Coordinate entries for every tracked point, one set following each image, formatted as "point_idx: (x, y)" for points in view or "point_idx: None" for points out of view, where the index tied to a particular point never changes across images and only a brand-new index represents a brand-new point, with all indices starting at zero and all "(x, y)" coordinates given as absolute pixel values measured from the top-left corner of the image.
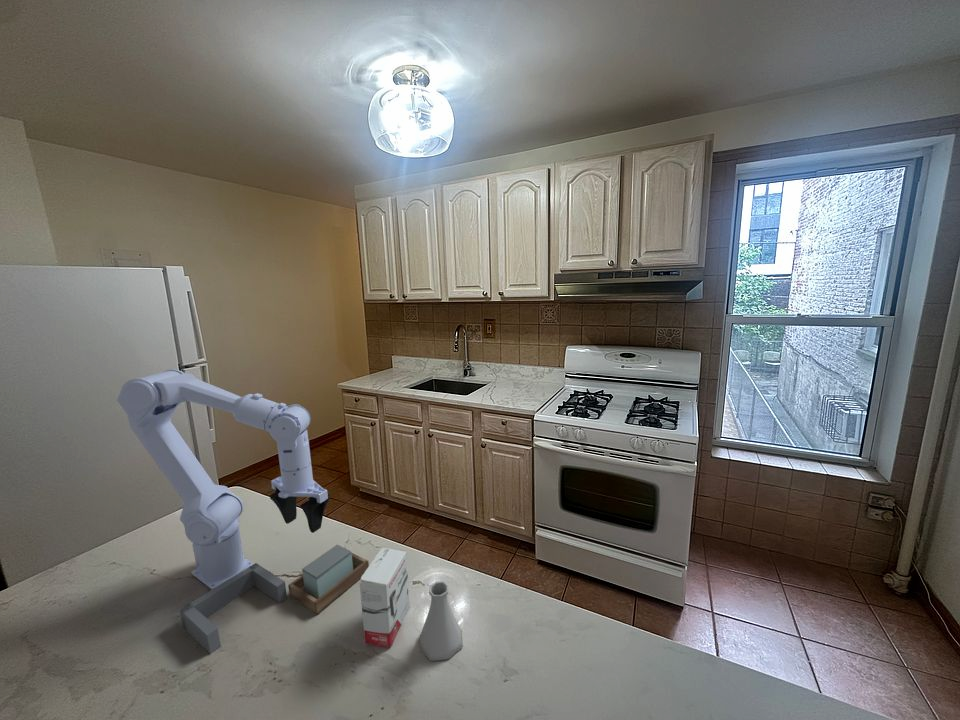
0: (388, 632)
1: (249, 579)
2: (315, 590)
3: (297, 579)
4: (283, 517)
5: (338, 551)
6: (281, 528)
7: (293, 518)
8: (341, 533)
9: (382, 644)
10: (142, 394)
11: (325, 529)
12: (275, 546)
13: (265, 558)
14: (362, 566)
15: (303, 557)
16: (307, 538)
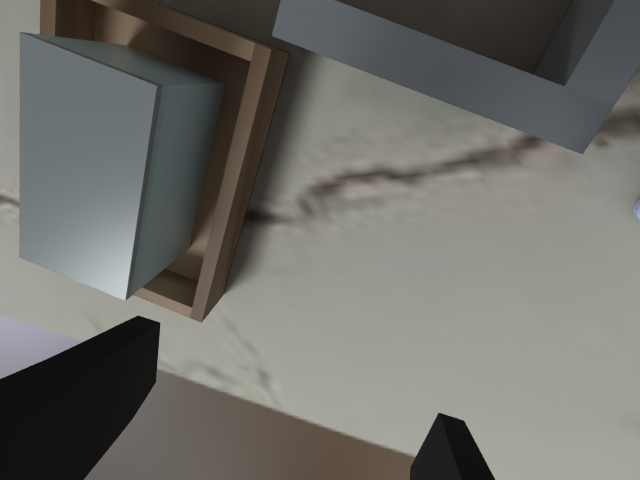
0: None
1: (559, 61)
2: (116, 49)
3: (251, 98)
4: (484, 473)
5: (76, 250)
6: (632, 452)
7: (420, 468)
8: (317, 416)
9: None
10: None
11: (401, 439)
12: (587, 344)
13: (591, 267)
14: None
15: (391, 286)
16: (450, 392)
